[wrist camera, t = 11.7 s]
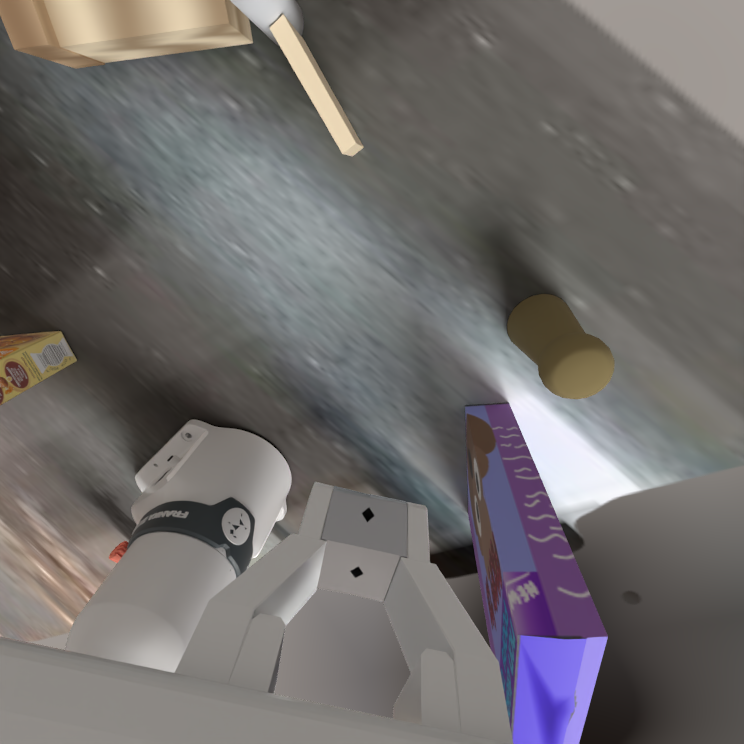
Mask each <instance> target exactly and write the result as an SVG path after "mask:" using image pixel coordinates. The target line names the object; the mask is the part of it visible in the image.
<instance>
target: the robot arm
mask: <svg viewBox="0 0 744 744" xmlns="http://www.w3.org/2000/svg"><path fill="white" fill-rule="evenodd" d="M135 480H136V482H137V485H138V487H139V488H140V490H141V491H142V494H141V495H140V496H139V497H138V499H137V500H136V501H135V502H134V504H133V505H132V508H131V512H132V516H133V518H134V520H135V522H136V524H137V526H136V527H135V529H134V531H133V533H132V537H131V539H130V541H129V543H128V542H127V541H124V542H122V543H120V544H119V545H118V546H117V547H116V548H115V549H114V550H113V551H112V552H111V554H110V557H109V559H110V560H112V561H114V562H117V564H116V566H115V567H114V568H113V570H112V571H111V572H110V573H109V575H108V576H107V577H106V579H105V580H104V581H103V583H102V584H101V585H100V587H99V588H98V590H97V591H96V592H95V594H94V595H93V596H92V598H91V599H90V600H89V602H88V603H87V604H86V606H85V607H84V608H83V610H82V611H81V612H80V613H79V615H78V616H77V618H76V620H75V621H74V623H73V625H72V627H71V630H70V632H69V635H68V638H67V643H66V648H65V650H62V649H58V648H52V647H48V646H43V645H38V644H34V643H29V642H24V641H19V640H15V639H10V638H5V637H0V744H513V739H512V734H511V728H510V723H509V717H508V711H507V706H506V700H505V694H504V689H503V683H502V678H501V672H500V666H499V662H498V660H497V659H496V657H495V655H494V654H493V652H492V651H491V649H490V648H489V646H488V645H487V643H486V642H485V640H484V638H483V637H482V635H481V634H480V632H479V631H478V629H477V628H476V626H475V624H474V623H473V621H472V620H471V618H470V617H469V615H468V614H467V612H466V611H465V609H464V608H463V606H462V604H461V603H460V601H459V600H458V598H457V597H456V595H455V593H454V592H453V590H452V589H451V587H450V586H449V584H448V583H447V581H446V579H445V578H444V576H443V575H442V573H441V572H440V570H439V569H438V567H437V566H436V564H432V563H430V554H429V534H428V515H427V508H426V506H424V505H419V504H414V503H410V502H407V503H406V502H405V501H400V500H395V499H391V498H386V497H381V496H376V495H371V494H370V495H369V494H365V493H361V492H357V491H353V490H348V489H344V488H340V487H336V486H331V485H326V484H322V483H318V482H315V483H314V485H313V487H312V490H311V493H310V497H309V500H308V503H307V506H306V509H305V512H304V516H303V519H302V522H301V525H300V528H299V531H298V535H297V534H291V535H289V536H288V537H287V538H286V539H284V540H283V541H282V542H281V543H279V544H278V545H277V546H276V547H274V548H273V549H272V550H271V551H269V552H268V553H267V554H266V555H264V556H263V557H262V558H261V559H259V560H258V561H257V562H256V563H255V564H253V565H252V566H251V567H250V568H248V567H249V566H248V565H249V563H250V560H251V559H252V558H255V557H257V556H258V554H259V553H260V551H261V549H262V547H263V545H264V543H265V541H266V539H267V537H268V535H269V534H270V532H271V530H272V528H273V526H274V524H275V522H276V521H279V520H282V519H283V518H284V516H285V514H286V511H287V506H286V496H287V494H288V492H289V490H290V487H291V472H290V469H289V466H288V464H287V462H286V460H285V459H284V457H283V456H282V455H281V453H280V452H279V451H278V450H277V449H276V448H275V447H274V446H272V445H271V444H270V443H268V442H267V441H265V440H264V439H262V438H260V437H259V436H257V435H254V434H252V433H249V432H246V431H243V430H239V429H233V428H221V427H215V426H212V425H210V424H208V423H205V422H202V421H199V420H194V419H193V420H189V421H188V422H187V423H186V424H185V425H184V426H183V427H182V428H181V429H180V430H179V431H178V432H177V433H176V434H175V435H174V436H173V437H172V438H171V439H170V440H169V441H168V442H167V443H166V444H165V445H164V446H163V447H162V448H161V449H160V450H159V451H158V452H157V453H156V454H155V455H154V456H153V457H152V458H151V459H150V460H149V461H148V462H147V463H146V464H145V465H144V466H143V467H142V468H141V469H140V470H139V471H138V473H137V474H136V476H135ZM333 487H334V489H333ZM317 588H318V589H324V590H330V591H335V592H341V593H346V594H351V595H355V596H359V597H364V598H367V599H372V600H376V601H380V602H384V604H383V605H384V607H385V610H386V612H387V614H388V617H389V620H390V622H391V625H392V627H393V630H394V632H395V635H396V637H397V640H398V642H399V645H400V647H401V649H402V652H403V655H404V657H405V659H406V662H407V665H408V667H409V670H410V672H411V674H410V676H409V678H408V680H407V682H406V684H405V686H404V687H403V689H402V691H401V693H400V695H399V697H398V699H397V701H396V702H395V704H394V706H393V719H392V718H387V717H383V716H378V715H373V714H368V713H364V712H359V711H354V710H349V709H344V708H340V707H335V706H330V705H325V704H321V703H316V702H311V701H306V700H302V699H297V698H292V697H287V696H283V695H277V694H274V690H275V686H276V682H277V676H278V670H279V664H280V658H281V651H282V645H283V639H284V632H285V626H286V625H287V624H288V622H289V621H290V620H291V619H292V618H293V616H295V615H296V613H297V612H298V611H299V610H300V609H301V608H302V606H303V605H304V604H305V603H306V602H307V601H308V600H309V598H310V597H311V596H312V595H313V594H314V593H315V592H316V590H317Z"/></svg>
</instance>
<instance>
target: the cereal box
mask: <svg viewBox="0 0 744 744" xmlns="http://www.w3.org/2000/svg"><path fill="white" fill-rule="evenodd" d="M465 427H466V459H467V491H468V515H469V521H470V527H471V533H472V539H473V545H474V551H475V557H476V563H477V569H478V575H479V581H480V587H481V592H482V598H483V605H484V611H485V617H486V623H487V629H488V635H489V641H490V647H491V651H492V652H493V654H494V655H495V657H496V659H497V660H498V662H499V666H500V672H501V678H502V683H503V689H504V694H505V700H506V706H507V711H508V717H509V723H510V728H511V734H512V739H513V744H579V741H580V737H581V733H582V730H583V726H584V723H585V719H586V715H587V712H588V708H589V704H590V700H591V697H592V693H593V689H594V685H595V682H596V678H597V674H598V671H599V667H600V664H601V660H602V656H603V653H604V649H605V645H606V641H607V638H608V636H607V633H606V631H605V629H604V626H603V624H602V622H601V619H600V617H599V615H598V612H597V610H596V607H595V605H594V603H593V600H592V598H591V596H590V593H589V591H588V589H587V586H586V584H585V582H584V579H583V577H582V575H581V572H580V570H579V567H578V565H577V563H576V560H575V558H574V556H573V553H572V551H571V548H570V546H569V544H568V541H567V539H566V537H565V534H564V532H563V530H562V527H561V525H560V523H559V520H558V518H557V516H556V513H555V511H554V508H553V506H552V504H551V501H550V499H549V497H548V494H547V492H546V490H545V487H544V485H543V483H542V480H541V478H540V475H539V473H538V471H537V468H536V466H535V464H534V461H533V459H532V457H531V454H530V452H529V450H528V447H527V445H526V442H525V440H524V438H523V435H522V433H521V431H520V428H519V426H518V424H517V421H516V419H515V417H514V414H513V412H512V409H511V407H510V405H509V403H496V404H481V405H465Z"/></svg>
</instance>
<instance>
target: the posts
mask: <svg viewBox="0 0 744 744" xmlns="http://www.w3.org/2000/svg"><path fill="white" fill-rule="evenodd" d="M230 1H231V2H232V3H233V4H234V5H235V6H236V7H237V8H238V9H240V10H241V11H242V12H243V13H244V14H245V15H246V16H247V17H248V18H249V19H250V20H251V21H252V22H253V23H254V24H255V25H256V26H257V27H258V28H259V29H261V30H262V31H263V32H264V33H265V34H266V35H267V36H268V37H269V38H270V39H271V40H272V41H273V42H274V43H275V44H277V45H278V46H280V47H281V49H282V51H283V52H284V54H285V56H286V57H287V59H288V61H289V63H290V64H291V66H292V68H293V69H294V71H295V73H296V75H297V76H298V78H299V80H300V82H301V83H302V85H303V87H304V88H305V90H306V92H307V94H308V95H309V97H310V99H311V100H312V102H313V104H314V106H315V107H316V109H317V111H318V112H319V114H320V116H321V118H322V119H323V121H324V123H325V124H326V126H327V128H328V130H329V131H330V133H331V135H332V137H333V138H334V140H335V142H336V143H337V145H338V147H339V149H340V150H341V152H342V154H345V155H349V156H353V155H355V154H356V153H357V152H359V151H360V150H361V149H363V148H364V147H363V145H362V143H361V141H360V140H359V138H358V136H357V134H356V132H355V131H354V129H353V127H352V125H351V123H350V122H349V120H348V118H347V116H346V115H345V113H344V111H343V109H342V107H341V106H340V104H339V102H338V100H337V98H336V97H335V95H334V93H333V91H332V89H331V88H330V86H329V84H328V82H327V80H326V79H325V77H324V75H323V73H322V71H321V70H320V68H319V66H318V64H317V63H316V61H315V59H314V57H313V55H312V54H311V52H310V50H309V48H308V46H307V45H306V43H305V41H304V39H303V38H302V37H301V36H302V33H303V29H304V18H303V13H302V10H301V8H300V6H299V4H298V3H297V1H296V0H230Z"/></svg>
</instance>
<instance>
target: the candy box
mask: <svg viewBox="0 0 744 744" xmlns="http://www.w3.org/2000/svg"><path fill="white" fill-rule="evenodd" d="M76 361H77V359H76V357H75V355H74V354H73V352H72V350H71V348H70V346H69V345H68V343H67V341H66V339H65V338H64V336H63V334H62V332H61V331H53V332H40V333H29V334H19V335H9V336H0V405H2V404H3V403H5V402H7V401H9V400H10V399H12V398H14V397H15V396H17V395H19V394H20V393H22V392H24V391H26V390H27V389H29V388H31V387H33V386H34V385H36V384H38V383H39V382H41V381H43V380H45V379H46V378H48V377H50V376H51V375H53V374H55V373H57V372H58V371H60V370H62V369H64V368H65V367H67V366H69V365H71V364H72V363H74V362H76Z"/></svg>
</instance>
